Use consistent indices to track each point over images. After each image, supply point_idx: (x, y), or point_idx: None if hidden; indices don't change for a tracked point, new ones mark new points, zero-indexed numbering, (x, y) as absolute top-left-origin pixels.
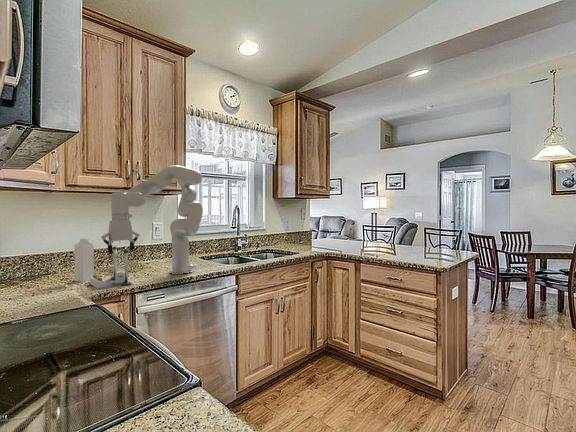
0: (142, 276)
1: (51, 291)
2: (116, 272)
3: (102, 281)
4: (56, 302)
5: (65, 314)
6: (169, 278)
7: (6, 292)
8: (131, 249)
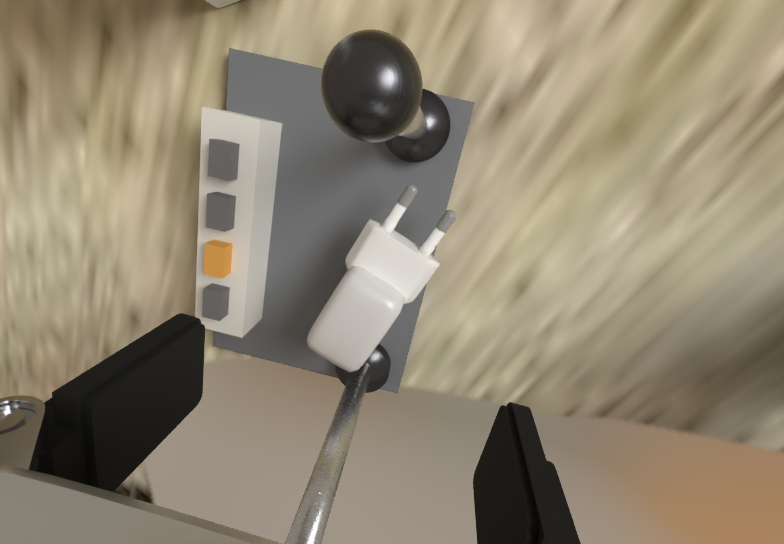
0: (673, 131)
1: (23, 91)
2: (310, 340)
3: (223, 331)
4: (39, 355)
5: None
6: (698, 375)
7: None
8: (478, 488)
